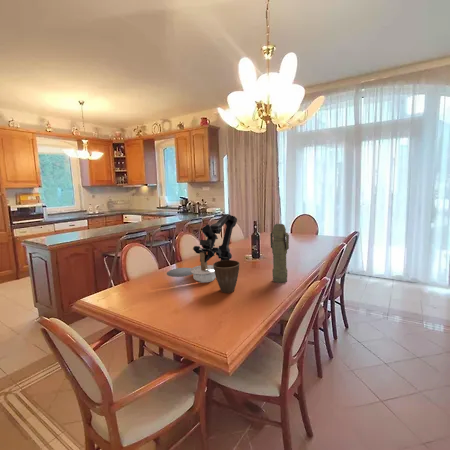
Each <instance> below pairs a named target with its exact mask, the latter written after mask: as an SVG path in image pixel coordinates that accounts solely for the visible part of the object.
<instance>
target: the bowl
mask: <svg viewBox="0 0 450 450" xmlns="http://www.w3.org/2000/svg"><path fill="white" fill-rule="evenodd" d="M192 275H193V280H195V281H196V282H197V283H202V284H203V283H204V284H206V283H212V282H214V281H215V280H216V276H215V273H213V274H208V275H195V274H192Z"/></svg>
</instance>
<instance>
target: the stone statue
mask: <svg viewBox="0 0 450 450" xmlns="http://www.w3.org/2000/svg"><path fill="white" fill-rule="evenodd" d="M269 236H270V238H269V239H270V241H269V242H270V248H271V251H272V258H273V259H272V264H273V265H272V267H273V268H272V282H274V283H277V284H285V283H287V282H288V268H287V254H288V251H289V248H290V247H289V244H290V243H289V241H290V240H289V239H290V235H289V232H287V228H286V227H285V224H283V223H275V224H274V225H273V227H272V231H271V232H270V234H269Z"/></svg>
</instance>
